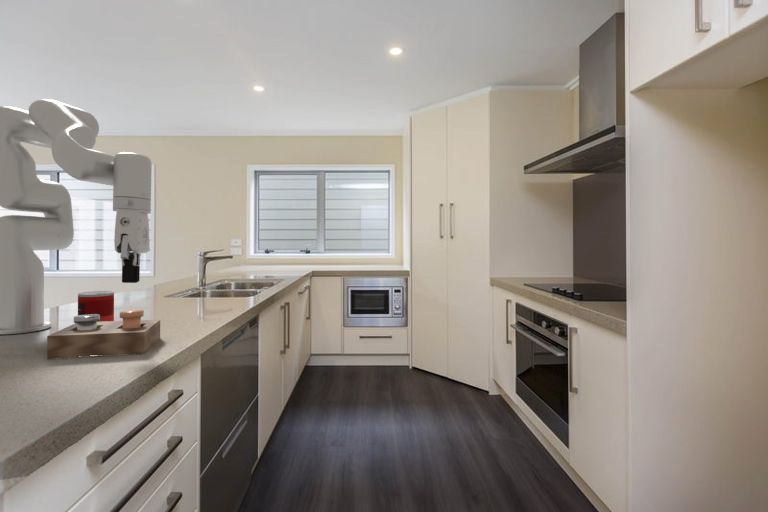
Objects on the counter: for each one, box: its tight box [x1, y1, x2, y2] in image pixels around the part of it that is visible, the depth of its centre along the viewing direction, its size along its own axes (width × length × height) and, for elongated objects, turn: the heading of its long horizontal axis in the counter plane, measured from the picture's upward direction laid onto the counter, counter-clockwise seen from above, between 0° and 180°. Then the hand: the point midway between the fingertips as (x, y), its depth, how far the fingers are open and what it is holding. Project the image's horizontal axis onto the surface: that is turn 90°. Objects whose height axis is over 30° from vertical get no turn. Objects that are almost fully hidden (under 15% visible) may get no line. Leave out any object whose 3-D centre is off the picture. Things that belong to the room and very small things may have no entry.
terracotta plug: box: [119, 309, 145, 329], centre depth 90 cm, size 5×5×7 cm
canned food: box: [77, 290, 115, 322], centre depth 103 cm, size 8×8×11 cm
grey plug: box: [73, 314, 100, 330], centre depth 87 cm, size 5×5×7 cm
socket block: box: [46, 319, 161, 360], centre depth 88 cm, size 18×14×5 cm
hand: (130, 282), depth 90 cm, fingers closed
